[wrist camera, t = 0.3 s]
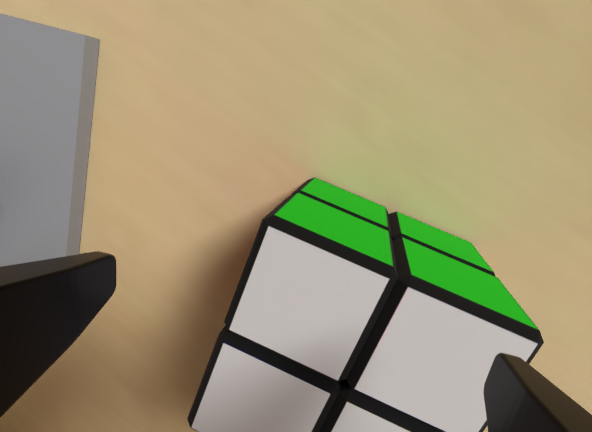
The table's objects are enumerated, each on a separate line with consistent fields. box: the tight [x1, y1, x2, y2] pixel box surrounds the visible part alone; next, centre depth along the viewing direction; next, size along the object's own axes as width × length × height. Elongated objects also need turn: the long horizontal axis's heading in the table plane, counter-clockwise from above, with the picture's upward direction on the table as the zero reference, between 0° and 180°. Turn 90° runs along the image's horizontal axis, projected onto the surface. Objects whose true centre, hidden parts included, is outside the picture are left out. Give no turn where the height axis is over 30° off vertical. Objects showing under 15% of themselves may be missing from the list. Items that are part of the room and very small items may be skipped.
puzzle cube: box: [187, 178, 544, 432], centre depth 19 cm, size 10×10×10 cm
